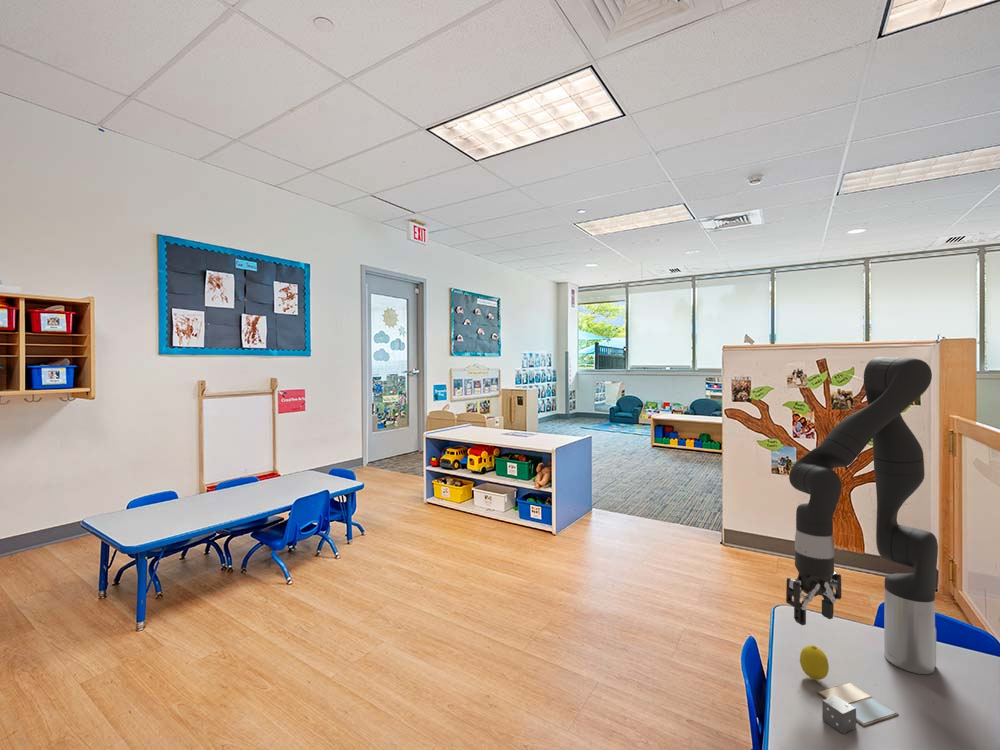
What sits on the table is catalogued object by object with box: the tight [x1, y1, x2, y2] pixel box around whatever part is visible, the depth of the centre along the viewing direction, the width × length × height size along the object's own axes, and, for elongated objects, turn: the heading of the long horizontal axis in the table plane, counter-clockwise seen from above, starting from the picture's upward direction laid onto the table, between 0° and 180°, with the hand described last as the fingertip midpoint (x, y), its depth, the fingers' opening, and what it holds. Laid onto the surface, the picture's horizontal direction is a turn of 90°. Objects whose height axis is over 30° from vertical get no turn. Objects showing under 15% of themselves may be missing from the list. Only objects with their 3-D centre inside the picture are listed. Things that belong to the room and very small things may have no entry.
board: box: [816, 681, 899, 727], centre depth 99 cm, size 10×10×1 cm
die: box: [821, 695, 857, 734], centre depth 94 cm, size 4×4×4 cm
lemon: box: [799, 644, 830, 681], centre depth 107 cm, size 6×6×8 cm
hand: (814, 620), depth 107 cm, fingers open, 8 cm apart
